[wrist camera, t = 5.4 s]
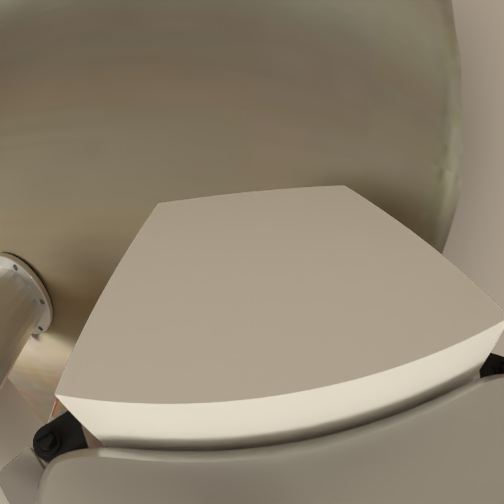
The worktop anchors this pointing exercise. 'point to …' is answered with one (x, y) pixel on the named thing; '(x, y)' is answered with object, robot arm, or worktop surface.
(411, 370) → the white sugar cube
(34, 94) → the worktop surface
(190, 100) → the worktop surface
